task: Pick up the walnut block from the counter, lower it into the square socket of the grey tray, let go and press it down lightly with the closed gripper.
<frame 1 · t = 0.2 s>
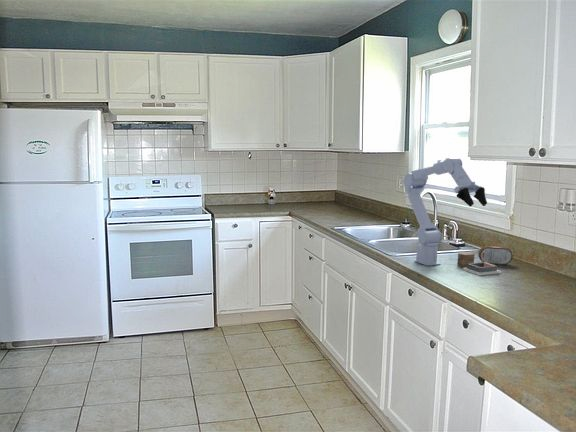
hand: (478, 204, 221), 31 cm above the worktop, tool tilted 45°, fingers open, 7 cm apart
tin: (494, 264, 253), on the worktop
grey tray: (481, 271, 238), on the worktop
plug block: (465, 266, 247), on the worktop
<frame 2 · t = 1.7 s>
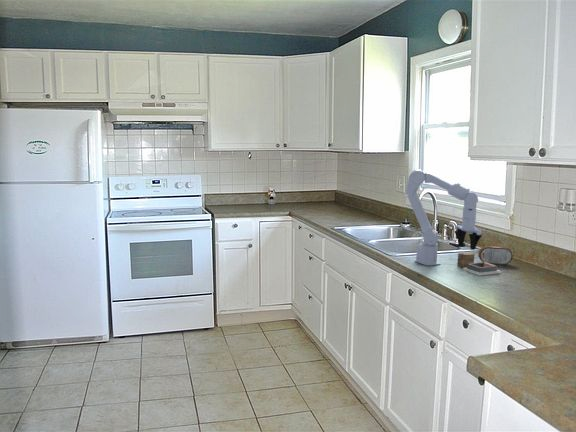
hand: (466, 247, 245), 9 cm above the worktop, tool pointing down, fingers open, 7 cm apart
nothing on the worktop moved.
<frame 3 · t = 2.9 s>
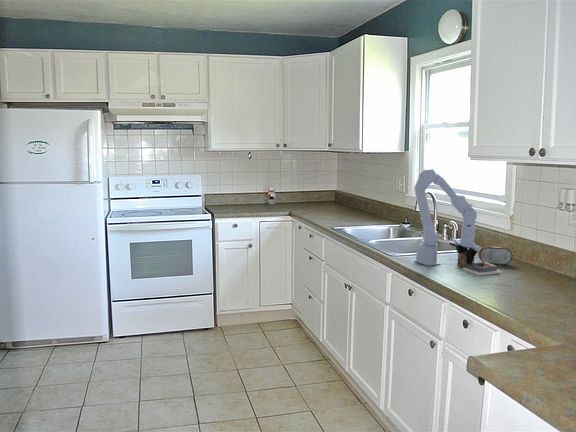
hand: (465, 263, 247), 1 cm above the worktop, tool pointing down, fingers closed on plug block, 4 cm apart
plug block: (465, 266, 247), on the worktop, touching gripper
everything else where it was.
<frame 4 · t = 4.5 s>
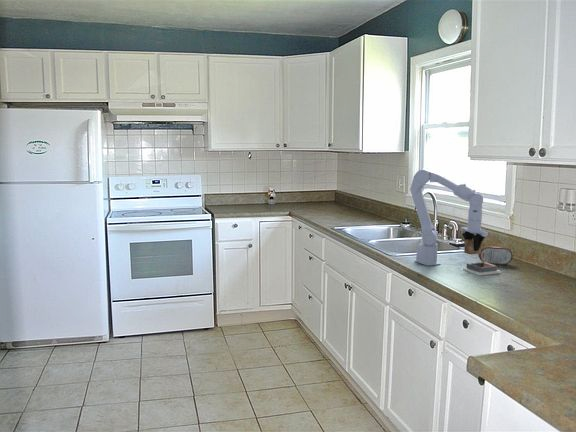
hand: (472, 249, 242), 8 cm above the worktop, tool pointing down, fingers closed on plug block, 4 cm apart
plug block: (472, 253, 243), point 7 cm above the worktop, touching gripper
everything else where it was.
when the fingers open (4 cm above the worktop, at t = 6.1 s): plug block drops 1 cm, resting on grey tray.
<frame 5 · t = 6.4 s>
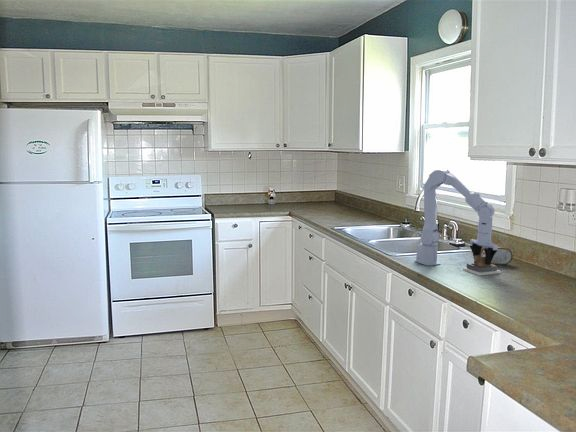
hand: (482, 262, 237), 4 cm above the worktop, tool pointing down, fingers open, 6 cm apart
plug block: (481, 269, 238), point 1 cm above the worktop, touching grey tray
everything else where it was.
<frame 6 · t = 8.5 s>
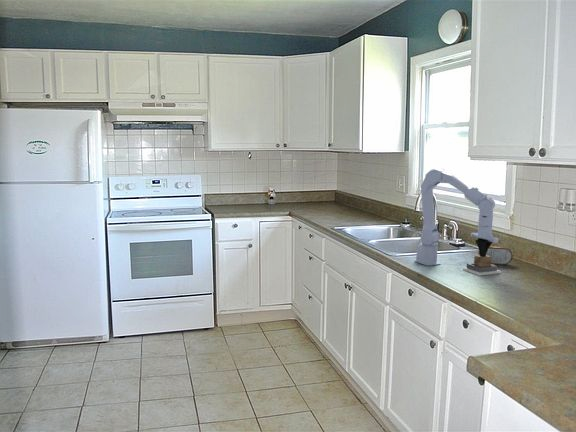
hand: (482, 256, 237), 7 cm above the worktop, tool pointing down, fingers closed, pressing on plug block
plug block: (481, 269, 238), point 1 cm above the worktop, touching gripper, grey tray
everything else where it was.
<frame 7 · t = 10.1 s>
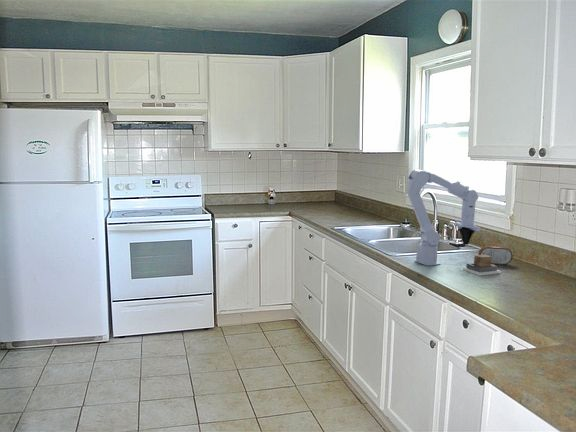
hand: (465, 244, 250), 9 cm above the worktop, tool pointing down, fingers closed
plug block: (481, 269, 238), point 1 cm above the worktop, touching grey tray
everything else where it was.
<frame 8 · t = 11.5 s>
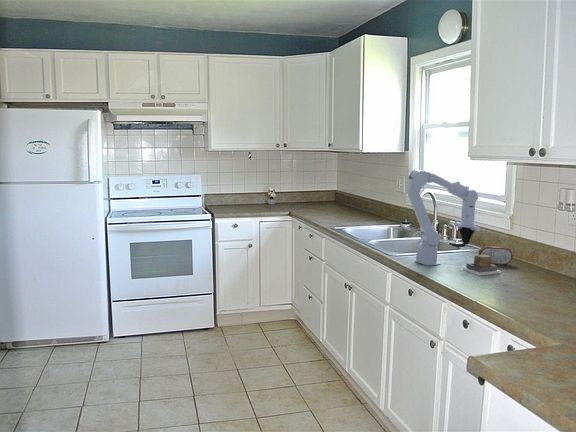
hand: (465, 244, 250), 9 cm above the worktop, tool pointing down, fingers closed
nothing on the worktop moved.
at the end: plug block 0.2 cm off-centre on the grey tray, point 1.0 cm above the grey tray's base; plug block tilted 0°; the gripper is holding nothing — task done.
